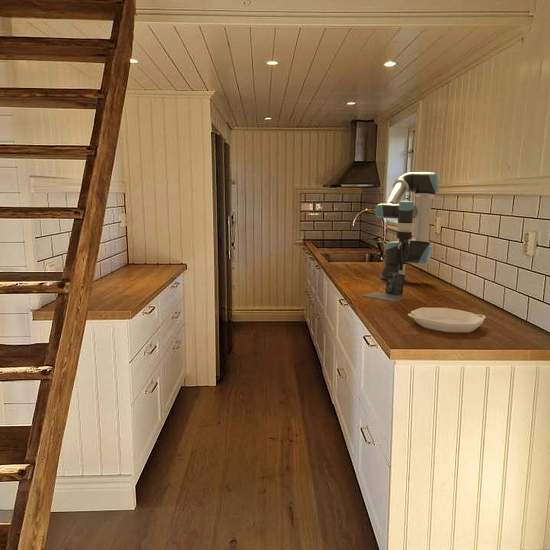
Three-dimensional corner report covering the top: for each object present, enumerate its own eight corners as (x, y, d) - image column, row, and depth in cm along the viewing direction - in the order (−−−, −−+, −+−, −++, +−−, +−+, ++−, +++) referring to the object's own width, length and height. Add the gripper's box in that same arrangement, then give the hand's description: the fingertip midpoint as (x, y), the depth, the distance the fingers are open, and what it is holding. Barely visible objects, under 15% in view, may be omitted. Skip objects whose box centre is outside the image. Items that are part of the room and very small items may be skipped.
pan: (419, 334, 175) (420, 323, 175) (396, 317, 200) (397, 306, 200) (500, 335, 178) (502, 323, 177) (468, 317, 203) (469, 307, 202)
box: (385, 292, 250) (386, 272, 249) (394, 292, 252) (396, 272, 250) (393, 295, 243) (394, 274, 241) (402, 295, 244) (404, 274, 243)
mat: (374, 292, 250) (374, 291, 250) (407, 297, 239) (407, 297, 239) (362, 296, 239) (362, 295, 239) (396, 302, 228) (396, 301, 228)
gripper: (402, 230, 255) (399, 273, 259) (392, 231, 245) (389, 276, 249) (416, 231, 251) (412, 275, 255) (406, 232, 241) (402, 278, 244)
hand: (401, 276), depth 252 cm, fingers closed
